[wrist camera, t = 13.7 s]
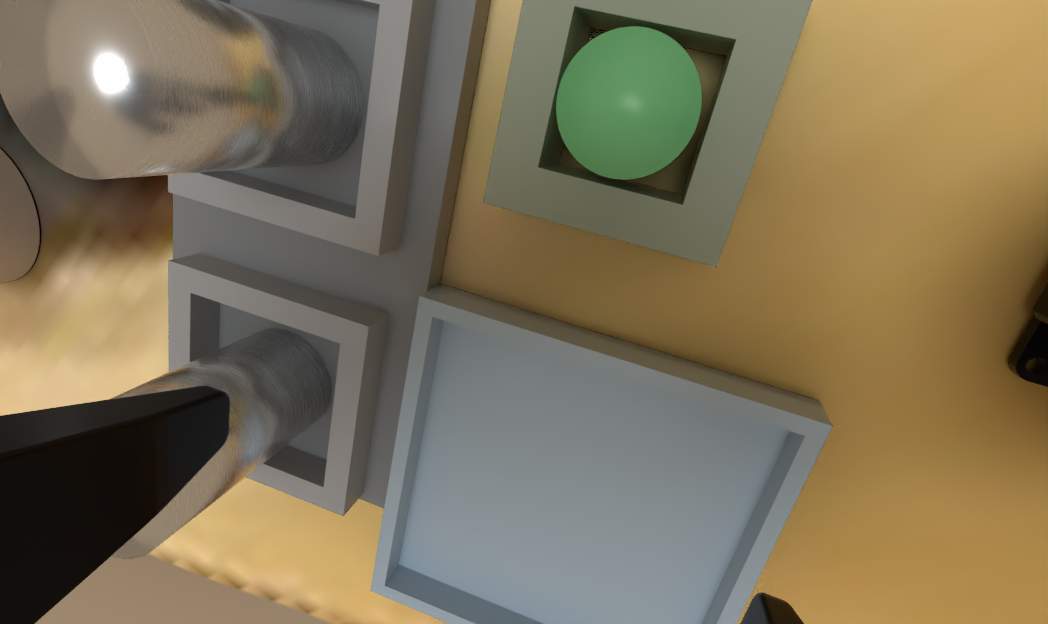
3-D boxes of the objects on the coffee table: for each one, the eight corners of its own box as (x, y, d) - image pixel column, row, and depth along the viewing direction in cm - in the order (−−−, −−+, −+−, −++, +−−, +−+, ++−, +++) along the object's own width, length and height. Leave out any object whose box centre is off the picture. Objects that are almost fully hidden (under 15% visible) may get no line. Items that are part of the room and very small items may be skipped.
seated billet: (370, 42, 18) (155, -26, 11) (355, 177, 19) (158, 201, 12) (254, 15, 19) (-22, -65, 11) (248, 148, 20) (1, 153, 13)
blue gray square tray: (819, 400, 19) (832, 426, 17) (686, 683, 24) (687, 724, 22) (439, 283, 21) (419, 296, 20) (390, 561, 26) (370, 590, 24)
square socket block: (793, 13, 16) (817, -13, 13) (710, 247, 18) (716, 267, 15) (559, -32, 17) (535, -65, 14) (511, 193, 19) (483, 202, 17)
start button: (715, 59, 16) (723, 43, 13) (675, 185, 17) (674, 195, 14) (592, 33, 16) (575, 12, 14) (563, 157, 18) (541, 160, 15)
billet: (337, 347, 22) (164, 453, 14) (326, 440, 23) (164, 580, 16) (241, 314, 23) (29, 399, 15) (236, 407, 24) (41, 525, 17)
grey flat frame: (492, -8, 18) (461, -32, 15) (402, 493, 25) (371, 533, 22) (201, -68, 20) (132, -98, 17) (194, 413, 27) (144, 442, 24)
